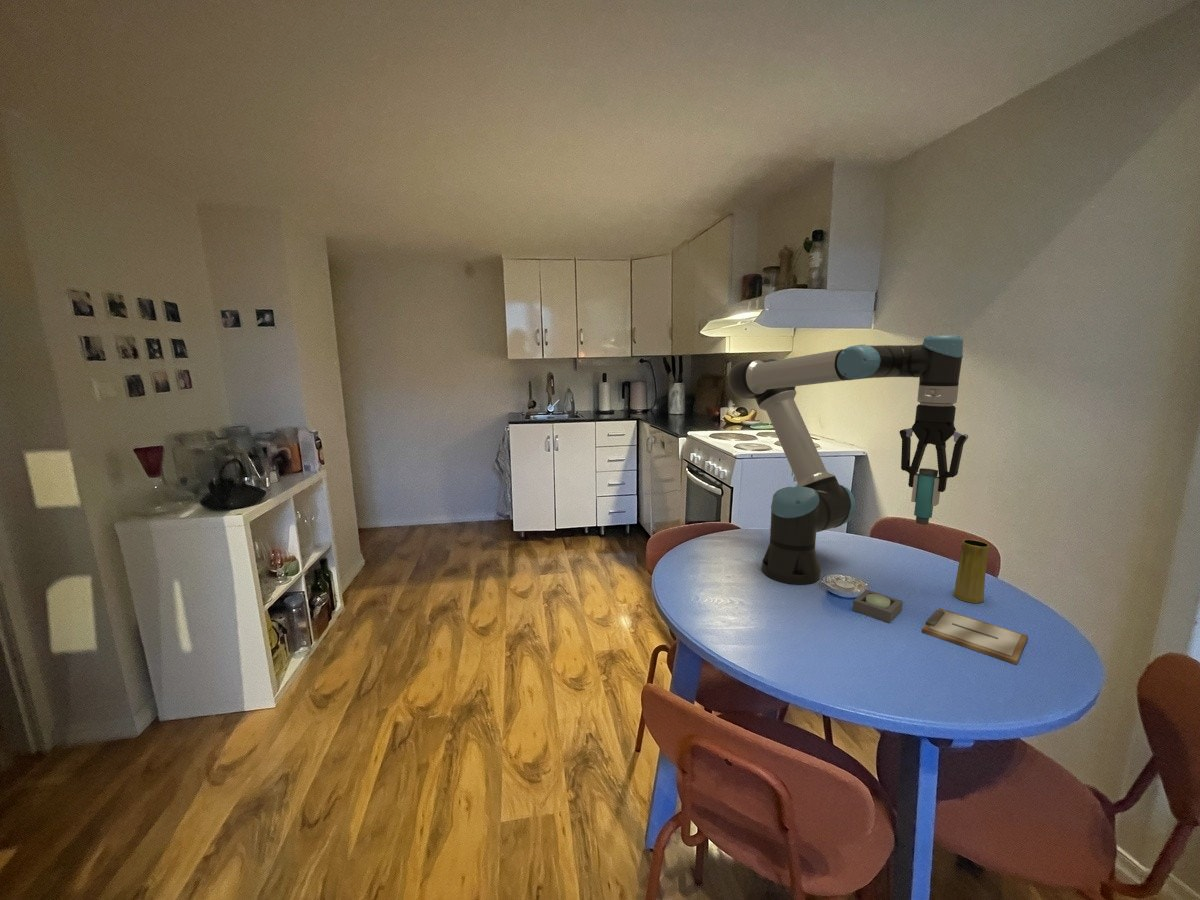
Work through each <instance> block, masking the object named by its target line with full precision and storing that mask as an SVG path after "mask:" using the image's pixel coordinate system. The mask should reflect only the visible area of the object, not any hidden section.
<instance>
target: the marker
mask: <svg viewBox="0 0 1200 900" xmlns="http://www.w3.org/2000/svg"><path fill="white" fill-rule="evenodd" d="M918 474H919V479H918V487H917V494H916V502H914V511H913V515H914V516H915V523H916V524H918V525H923V526H928V525H929V522H930V521H929V520H930V519H932V518H933V511H934V506H933V505H932V498H933V490H934V481H935V478H937V477H938V476H939V472H938V470H937V469H933V468H926V467H925V468H920V467H919V469H918Z"/></svg>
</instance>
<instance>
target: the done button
mask: <svg viewBox="0 0 1200 900" xmlns="http://www.w3.org/2000/svg"><path fill="white" fill-rule="evenodd" d="M882 595H883V594H882ZM882 595H878V594H868V595H867V596H866V602H867V603H870V604H873V605H876V606H879V607H882V608H885V609H887V608H888V607H889V606H890V600H889V599H888V598H887V597H885V596H886V595H885V596H882Z"/></svg>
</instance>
